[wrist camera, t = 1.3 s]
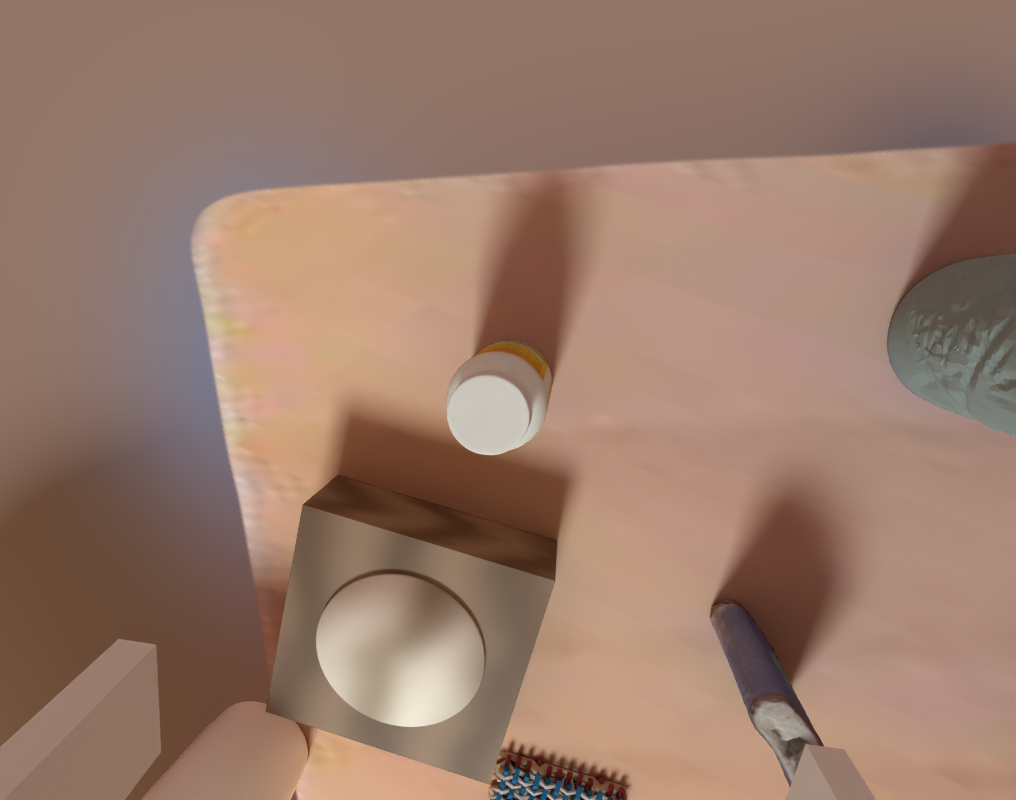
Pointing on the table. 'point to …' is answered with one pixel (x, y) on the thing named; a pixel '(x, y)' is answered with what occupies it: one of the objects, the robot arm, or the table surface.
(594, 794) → the woven mat
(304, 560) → the walnut plinth
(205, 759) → the candle holder
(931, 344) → the green cylinder
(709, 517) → the table surface
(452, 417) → the supplement bottle
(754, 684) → the flask
